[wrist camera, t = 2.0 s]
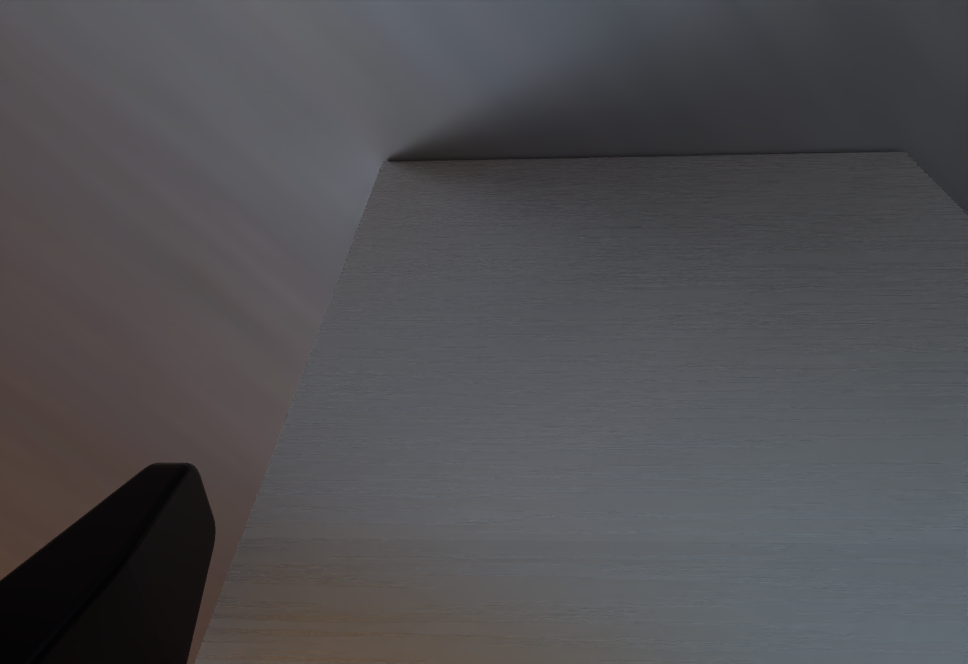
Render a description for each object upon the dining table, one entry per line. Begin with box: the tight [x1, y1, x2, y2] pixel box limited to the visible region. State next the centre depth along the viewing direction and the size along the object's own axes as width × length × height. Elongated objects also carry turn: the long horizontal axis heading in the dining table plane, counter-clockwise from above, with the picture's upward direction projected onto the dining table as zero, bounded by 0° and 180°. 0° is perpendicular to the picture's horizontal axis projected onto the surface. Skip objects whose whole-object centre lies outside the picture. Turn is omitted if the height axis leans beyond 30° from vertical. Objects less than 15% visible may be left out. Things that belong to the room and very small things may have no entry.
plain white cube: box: [194, 152, 968, 664], centre depth 7 cm, size 5×5×6 cm
